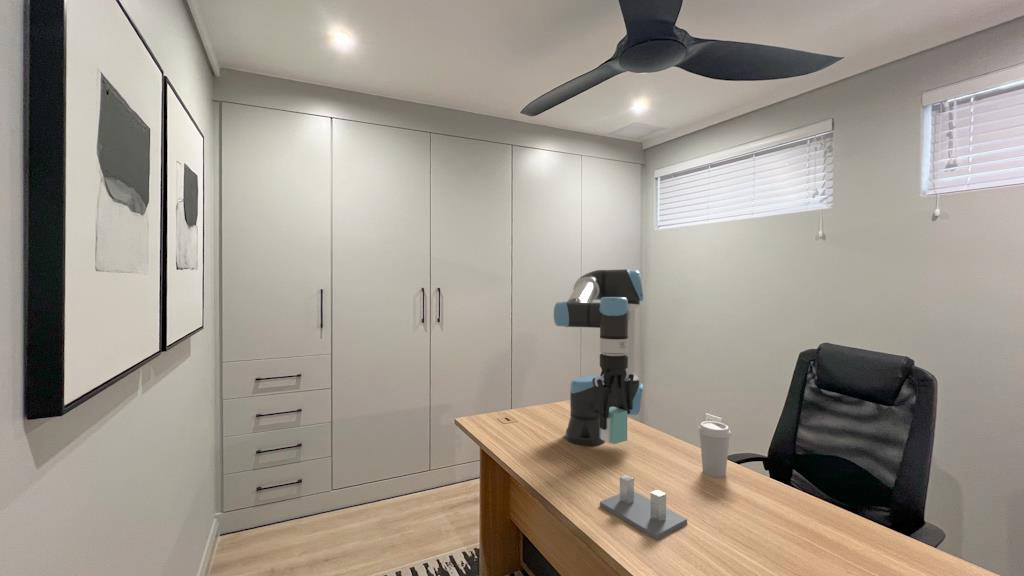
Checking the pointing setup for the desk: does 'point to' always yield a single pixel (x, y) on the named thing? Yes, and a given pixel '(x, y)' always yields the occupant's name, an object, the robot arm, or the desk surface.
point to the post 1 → (627, 489)
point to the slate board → (643, 516)
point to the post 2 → (658, 506)
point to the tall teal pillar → (617, 425)
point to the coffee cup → (714, 447)
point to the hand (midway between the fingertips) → (613, 438)
